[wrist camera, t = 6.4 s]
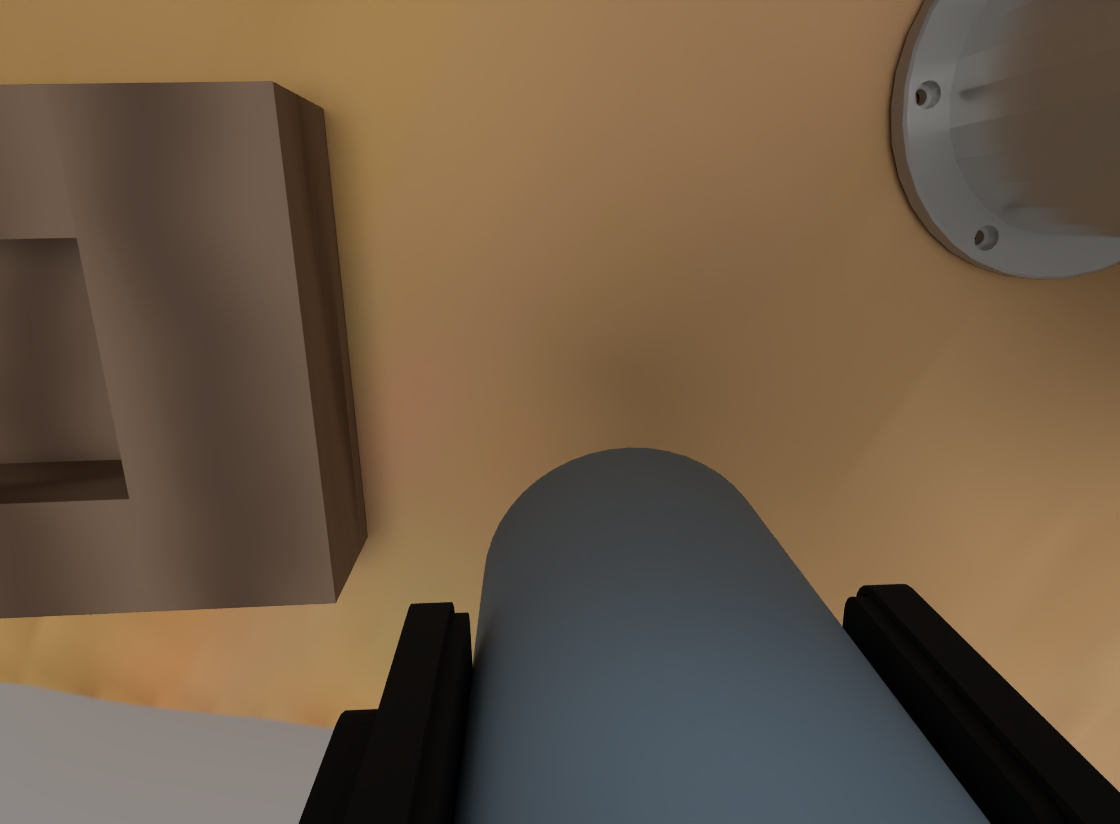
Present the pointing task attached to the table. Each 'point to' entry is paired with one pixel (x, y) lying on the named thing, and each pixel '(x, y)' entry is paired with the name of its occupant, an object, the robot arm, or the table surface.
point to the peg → (675, 669)
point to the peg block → (171, 352)
